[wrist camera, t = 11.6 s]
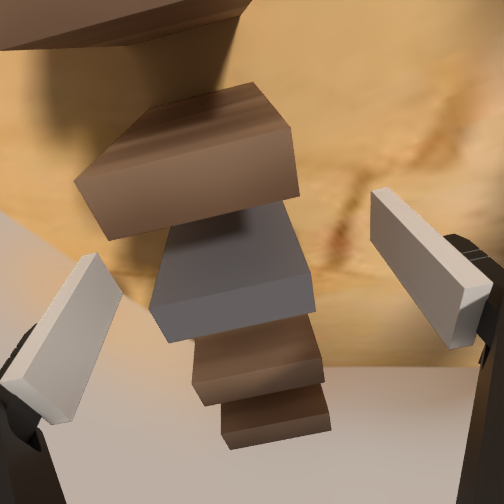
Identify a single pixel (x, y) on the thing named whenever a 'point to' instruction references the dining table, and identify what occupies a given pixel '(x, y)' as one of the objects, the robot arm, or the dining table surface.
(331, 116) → the dining table surface
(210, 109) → the domino
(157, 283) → the domino
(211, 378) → the domino
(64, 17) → the domino
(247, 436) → the domino
